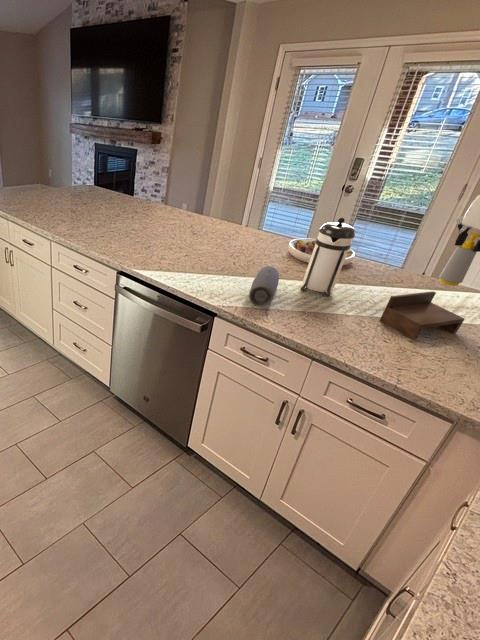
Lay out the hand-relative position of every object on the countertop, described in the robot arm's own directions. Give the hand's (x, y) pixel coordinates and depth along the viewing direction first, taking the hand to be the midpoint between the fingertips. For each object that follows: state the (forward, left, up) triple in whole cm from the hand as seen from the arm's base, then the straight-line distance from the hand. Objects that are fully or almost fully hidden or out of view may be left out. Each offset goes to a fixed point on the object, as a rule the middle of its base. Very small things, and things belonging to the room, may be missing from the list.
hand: (467, 247), depth 141 cm
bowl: (+63, -3, -27) cm, 69 cm away
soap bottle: (0, 0, -13) cm, 13 cm away
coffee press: (+31, +26, -27) cm, 49 cm away
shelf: (-5, +12, -27) cm, 30 cm away
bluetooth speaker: (+28, +55, -27) cm, 68 cm away
